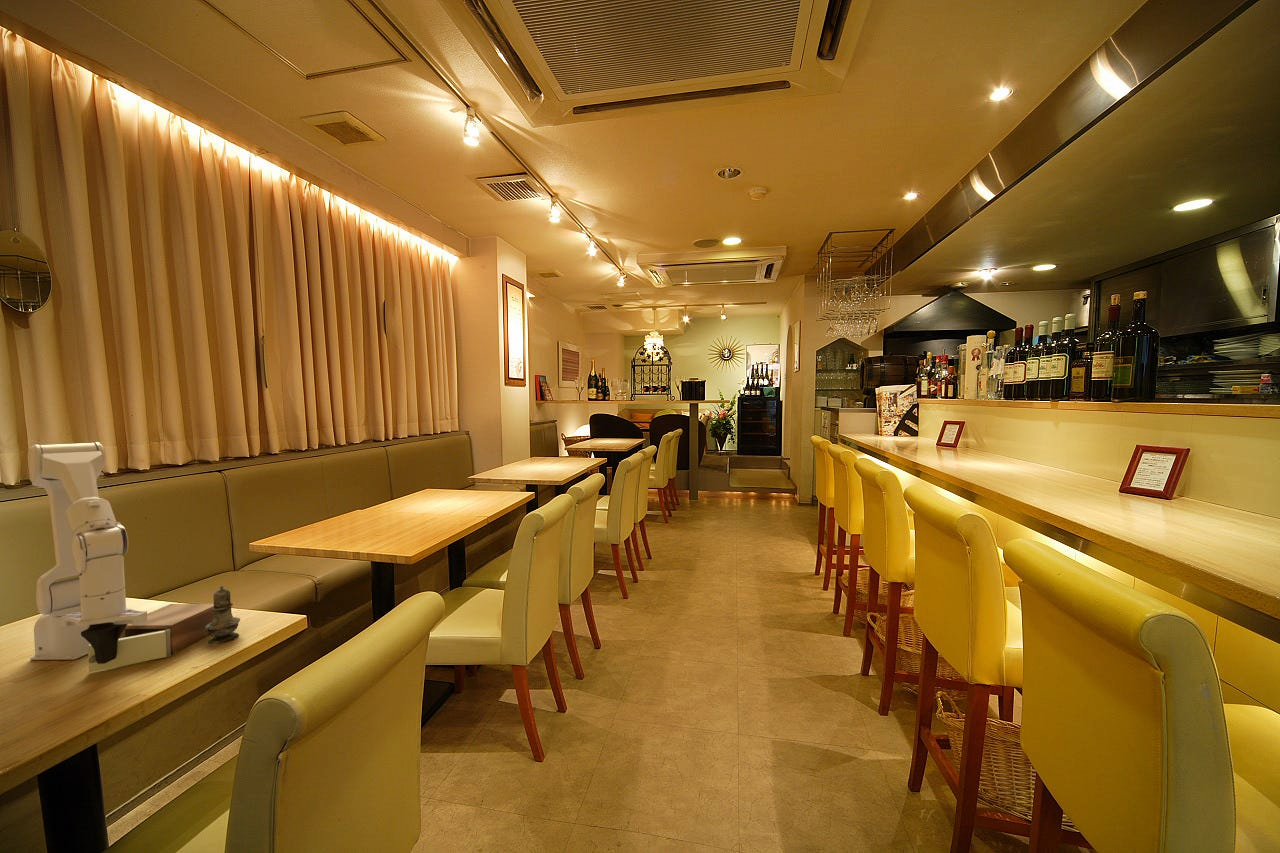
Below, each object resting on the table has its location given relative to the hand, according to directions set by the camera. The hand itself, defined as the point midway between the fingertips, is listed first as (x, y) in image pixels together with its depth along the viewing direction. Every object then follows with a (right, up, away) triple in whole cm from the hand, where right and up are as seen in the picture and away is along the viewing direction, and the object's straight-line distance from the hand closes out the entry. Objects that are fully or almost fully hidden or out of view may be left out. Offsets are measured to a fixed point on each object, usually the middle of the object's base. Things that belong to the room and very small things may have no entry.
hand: (106, 661), depth 91 cm
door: (+1, -2, +3) cm, 4 cm away
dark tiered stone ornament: (+10, -2, +14) cm, 18 cm away
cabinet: (0, -2, +13) cm, 13 cm away
